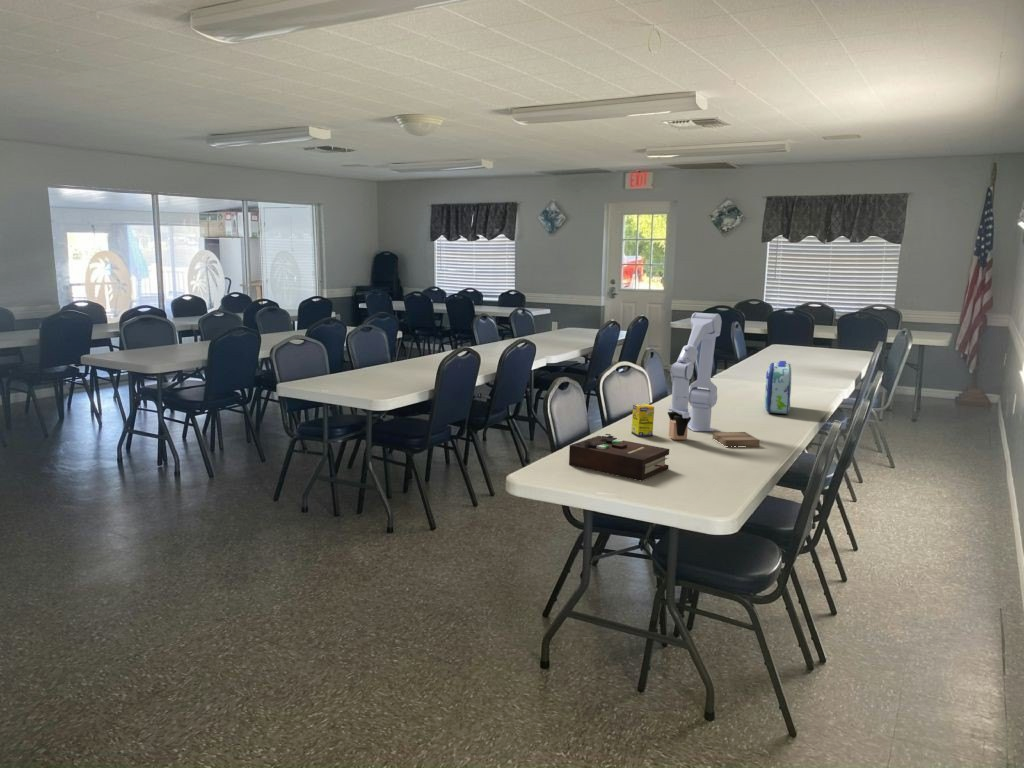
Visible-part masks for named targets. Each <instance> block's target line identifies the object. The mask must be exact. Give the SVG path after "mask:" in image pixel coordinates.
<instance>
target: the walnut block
mask: <svg viewBox="0 0 1024 768" xmlns="http://www.w3.org/2000/svg"><path fill="white" fill-rule="evenodd" d="M713 439H715V440H717V441H718V442H720V443H721V444H723V445H724V446H728V447H727V448H739V447H738V446H746V447H745V448H760V439H759V438H757V437H755V436H754V435H752V434H750V433H748V432H746V431H739V432H738V431H720V432H718V431H716V432H714V431H712V440H713ZM715 440H714V441H715ZM718 442H717V443H718ZM720 443H719V444H720ZM721 444H720V445H721ZM723 445H722V446H723ZM724 446H723V447H724ZM731 446H732V447H731ZM734 446H736V447H734Z"/></svg>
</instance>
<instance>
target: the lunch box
mask: <svg viewBox="0 0 1024 768" xmlns="http://www.w3.org/2000/svg"><path fill="white" fill-rule="evenodd" d="M791 366H792V365H791V363H789V362H788V363H787V361H786V360H779V361H778V362H771V363H769V367H768V369H767V371H766V374H765V387H764V408H765V410H766V412H767V413H772V414H780V415H781V414H785V415H788V414H789V412H790V409H791V393H792V367H791Z"/></svg>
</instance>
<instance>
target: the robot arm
mask: <svg viewBox="0 0 1024 768" xmlns="http://www.w3.org/2000/svg"><path fill="white" fill-rule="evenodd" d="M722 323H723V322H722V317H721V315H720V314H719V313H705V312H697V311H696V312H694V313H692V314H691V318H690V327H691V332H690V335H689V339H688V342H687V345H686V344H685V345H684V346H683V347H682V349H681V351H680V354H679V355H678V357H677V360H676V362H674V363H672V365H671V366H670V367H671V368H670V371H669V373H670V377H671V379H670V381H671V383H672V386H671V387H672V389H671V391H672V392H671V404H670V405H669V407H668V408H667V411H668V412H667V415H668V419H669V421H670V420H675V421H676V426H677V435H678V436H684V433H685V430H686V427H687V425H688V429H689V430H691V431H692V432H714V431H715V430H714V429H713V428H712V427H711V422H712V408H714V407H715V405H716V404H717V401H718V387H717V385H715V384H714V383H713V382H712V378H711V377H712V372H713V364H714V362H713V361H714V353H715V346H716V338H717V337H719V336H720V335H721V329H722ZM700 343H701V344H700ZM699 345H700V351H698V347H699ZM698 354H699V359H698V360H699V362H698V369H697V377H696V380H695V381H693V382H692V383H690V380H691V379H692V377H693V374H694V367H695V365H694V363H696V362H695V361H696V359H697V357H698ZM689 404H690V407H689Z"/></svg>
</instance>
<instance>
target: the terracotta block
mask: <svg viewBox="0 0 1024 768" xmlns="http://www.w3.org/2000/svg"><path fill="white" fill-rule="evenodd" d="M668 423H669V424H668V425H669V426H668V437H669V438H671V439H672V440H687V439H688V429H689V428H688V425H687V427H686V430H685V433H684V436H678V435H677V426H676V421H675V420H670V419H669V422H668Z"/></svg>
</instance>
